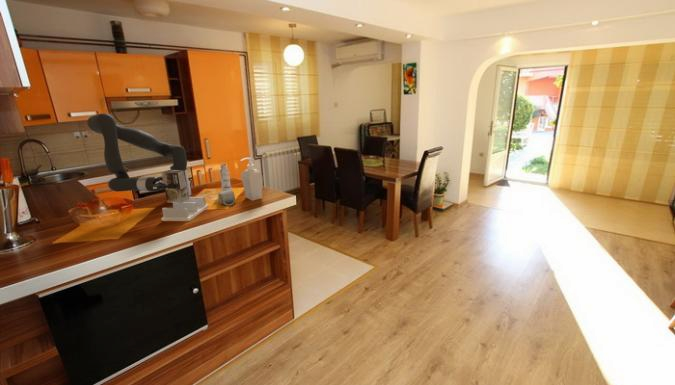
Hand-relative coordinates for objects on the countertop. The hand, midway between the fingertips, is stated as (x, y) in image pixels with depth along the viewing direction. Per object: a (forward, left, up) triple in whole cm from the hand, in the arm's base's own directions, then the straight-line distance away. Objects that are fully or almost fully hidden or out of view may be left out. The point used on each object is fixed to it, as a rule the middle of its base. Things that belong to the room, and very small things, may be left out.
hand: (179, 184), depth 160 cm
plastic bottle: (-40, +6, -18) cm, 44 cm away
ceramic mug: (-22, +14, -18) cm, 32 cm away
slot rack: (-5, -2, -18) cm, 19 cm away
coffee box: (0, -2, -9) cm, 9 cm away
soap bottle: (-32, +26, -18) cm, 45 cm away
